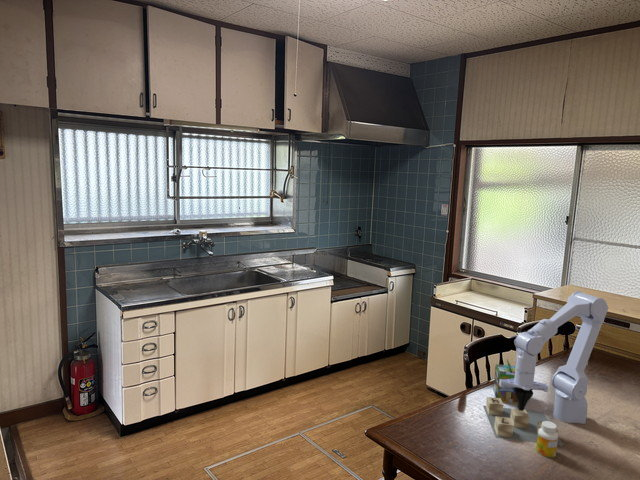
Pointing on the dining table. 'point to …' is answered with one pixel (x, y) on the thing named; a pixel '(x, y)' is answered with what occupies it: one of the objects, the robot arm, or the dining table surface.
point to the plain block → (519, 418)
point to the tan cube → (540, 426)
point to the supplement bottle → (547, 439)
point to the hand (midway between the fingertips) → (520, 409)
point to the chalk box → (504, 392)
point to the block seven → (503, 426)
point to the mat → (521, 433)
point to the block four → (494, 406)
